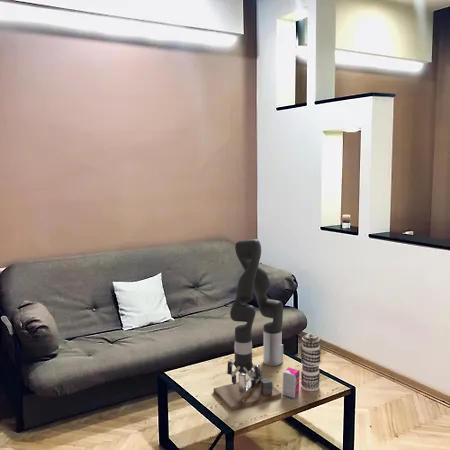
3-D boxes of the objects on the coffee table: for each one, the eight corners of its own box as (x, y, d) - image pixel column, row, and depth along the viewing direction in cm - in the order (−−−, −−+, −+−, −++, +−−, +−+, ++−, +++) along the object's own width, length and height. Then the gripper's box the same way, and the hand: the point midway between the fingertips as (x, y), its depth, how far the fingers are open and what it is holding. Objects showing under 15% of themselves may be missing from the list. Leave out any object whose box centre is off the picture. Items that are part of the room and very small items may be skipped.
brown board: (261, 380, 237) (261, 364, 236) (281, 397, 221) (281, 380, 220) (213, 392, 226) (213, 376, 225) (231, 411, 210) (231, 393, 209)
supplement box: (294, 399, 219) (294, 375, 217) (282, 395, 222) (282, 371, 221) (299, 393, 224) (299, 369, 222) (287, 390, 227) (287, 366, 225)
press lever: (255, 378, 234) (255, 354, 232) (264, 379, 232) (264, 356, 230) (236, 399, 215) (236, 374, 213) (245, 402, 213) (245, 376, 211)
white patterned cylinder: (307, 393, 224) (308, 341, 220) (296, 384, 233) (296, 333, 228) (324, 388, 228) (325, 337, 224) (312, 380, 236) (313, 330, 232)
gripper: (262, 349, 212) (262, 384, 215) (231, 344, 218) (231, 378, 220) (256, 356, 205) (256, 392, 208) (224, 350, 211) (225, 386, 214)
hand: (243, 385), depth 214 cm, fingers open, 8 cm apart
